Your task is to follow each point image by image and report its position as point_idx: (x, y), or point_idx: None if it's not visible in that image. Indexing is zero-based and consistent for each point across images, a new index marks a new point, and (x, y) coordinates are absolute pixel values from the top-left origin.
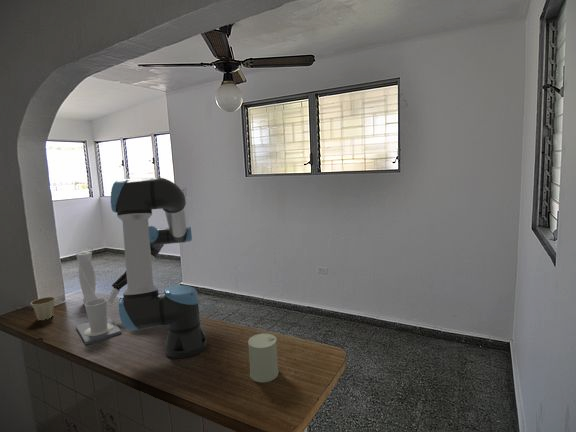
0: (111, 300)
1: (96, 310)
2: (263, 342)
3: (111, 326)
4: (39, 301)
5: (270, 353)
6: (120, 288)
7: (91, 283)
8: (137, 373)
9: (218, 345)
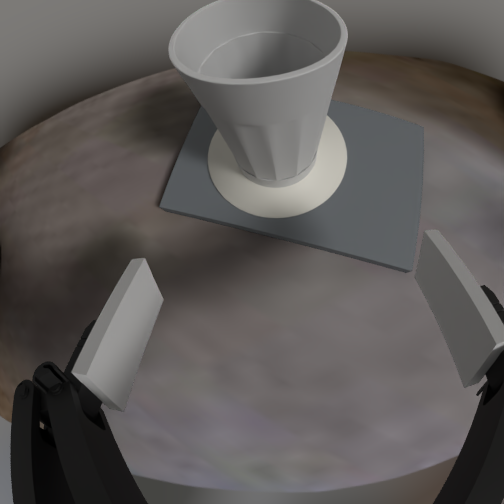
0: (429, 275)
1: (200, 49)
2: None
3: (246, 200)
4: None
5: None
6: (477, 409)
7: None
8: (9, 150)
9: None
